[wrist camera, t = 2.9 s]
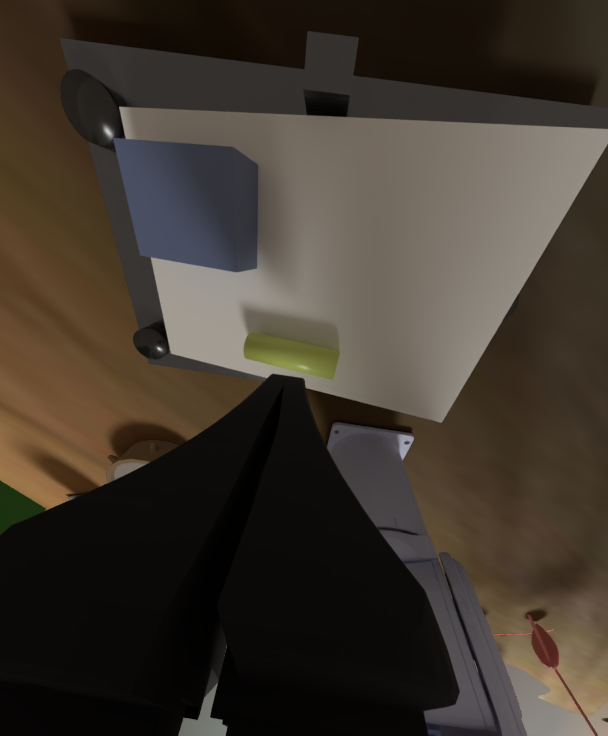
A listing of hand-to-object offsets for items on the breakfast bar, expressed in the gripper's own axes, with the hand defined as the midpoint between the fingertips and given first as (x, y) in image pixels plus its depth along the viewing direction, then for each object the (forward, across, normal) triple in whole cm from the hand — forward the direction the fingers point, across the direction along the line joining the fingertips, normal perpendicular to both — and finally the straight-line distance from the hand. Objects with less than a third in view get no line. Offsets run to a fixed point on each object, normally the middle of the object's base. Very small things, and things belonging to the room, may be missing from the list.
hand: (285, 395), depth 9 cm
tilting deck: (+5, 0, -4) cm, 6 cm away
